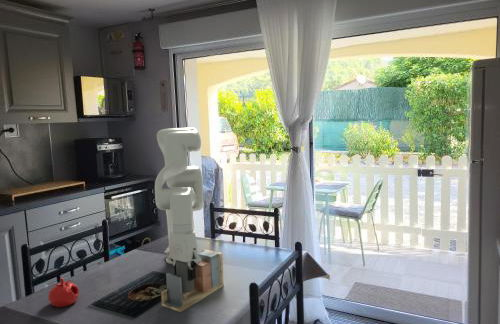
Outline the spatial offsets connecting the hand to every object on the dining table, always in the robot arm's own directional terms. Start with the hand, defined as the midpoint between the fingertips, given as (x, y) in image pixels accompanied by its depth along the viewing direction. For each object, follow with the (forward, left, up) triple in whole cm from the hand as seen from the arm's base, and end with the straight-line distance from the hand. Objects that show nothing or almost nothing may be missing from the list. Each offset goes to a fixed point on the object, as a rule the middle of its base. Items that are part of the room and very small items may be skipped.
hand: (185, 276), depth 133 cm
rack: (0, +4, -8) cm, 9 cm away
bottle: (0, 0, -5) cm, 5 cm away
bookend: (0, -6, -7) cm, 10 cm away
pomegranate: (-37, -24, -9) cm, 45 cm away
